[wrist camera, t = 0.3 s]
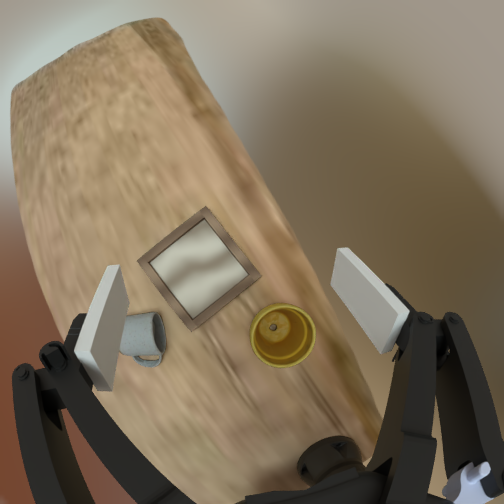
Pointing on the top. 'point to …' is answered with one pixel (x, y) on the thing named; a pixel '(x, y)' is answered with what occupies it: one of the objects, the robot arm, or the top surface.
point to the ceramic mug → (143, 337)
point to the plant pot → (282, 335)
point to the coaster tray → (198, 268)
